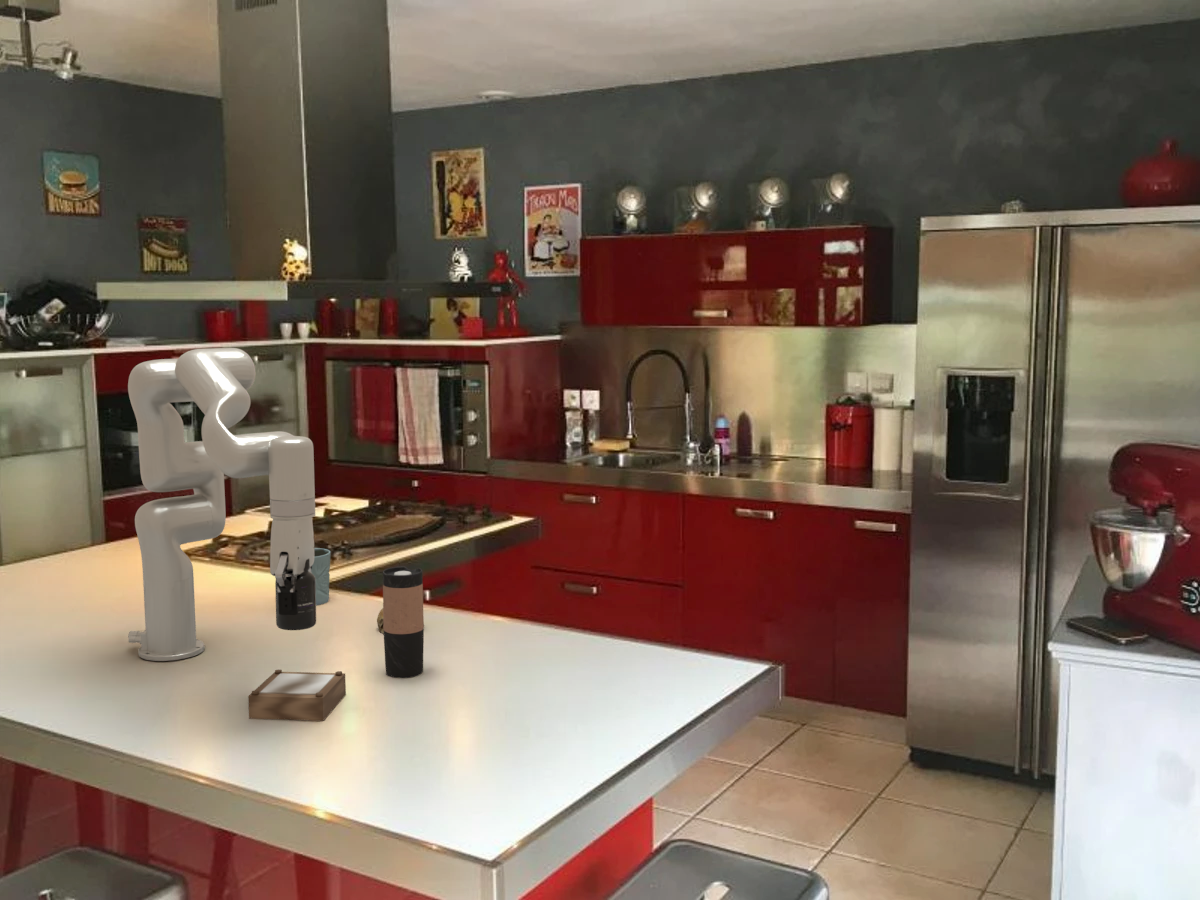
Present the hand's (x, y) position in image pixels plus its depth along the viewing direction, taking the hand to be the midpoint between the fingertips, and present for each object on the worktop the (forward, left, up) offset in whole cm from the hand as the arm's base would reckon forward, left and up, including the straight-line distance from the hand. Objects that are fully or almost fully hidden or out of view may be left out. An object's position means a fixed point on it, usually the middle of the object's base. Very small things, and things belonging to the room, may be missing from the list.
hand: (296, 607), depth 198 cm
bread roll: (+6, +49, -18) cm, 53 cm away
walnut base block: (0, 0, -18) cm, 18 cm away
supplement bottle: (0, 0, -3) cm, 3 cm away
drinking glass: (-21, +69, -18) cm, 74 cm away
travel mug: (+14, +20, -18) cm, 30 cm away
